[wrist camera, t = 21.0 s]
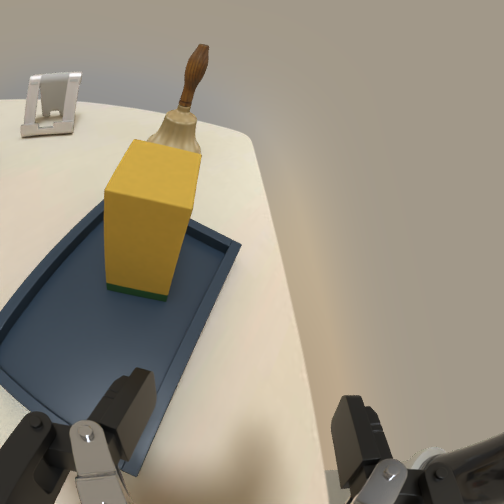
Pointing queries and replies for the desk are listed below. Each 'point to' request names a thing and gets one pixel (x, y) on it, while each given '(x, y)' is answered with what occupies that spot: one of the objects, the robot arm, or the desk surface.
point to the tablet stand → (52, 102)
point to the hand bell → (184, 108)
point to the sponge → (148, 217)
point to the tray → (105, 326)
